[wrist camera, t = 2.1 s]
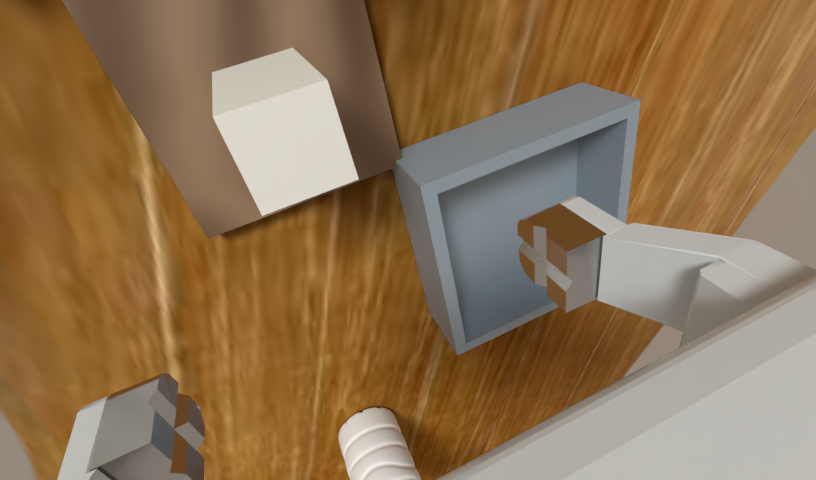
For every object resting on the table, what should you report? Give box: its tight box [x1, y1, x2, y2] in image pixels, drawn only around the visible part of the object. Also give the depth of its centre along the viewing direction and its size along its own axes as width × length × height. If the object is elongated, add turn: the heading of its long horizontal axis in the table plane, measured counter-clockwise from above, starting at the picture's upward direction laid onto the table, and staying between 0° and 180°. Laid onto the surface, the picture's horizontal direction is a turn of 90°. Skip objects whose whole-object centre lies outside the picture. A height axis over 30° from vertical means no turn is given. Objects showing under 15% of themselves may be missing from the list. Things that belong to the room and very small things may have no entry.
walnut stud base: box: [62, 0, 402, 239], centre depth 24 cm, size 14×14×5 cm
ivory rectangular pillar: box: [212, 48, 359, 216], centre depth 21 cm, size 5×5×9 cm
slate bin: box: [392, 82, 641, 356], centre depth 35 cm, size 17×17×6 cm
